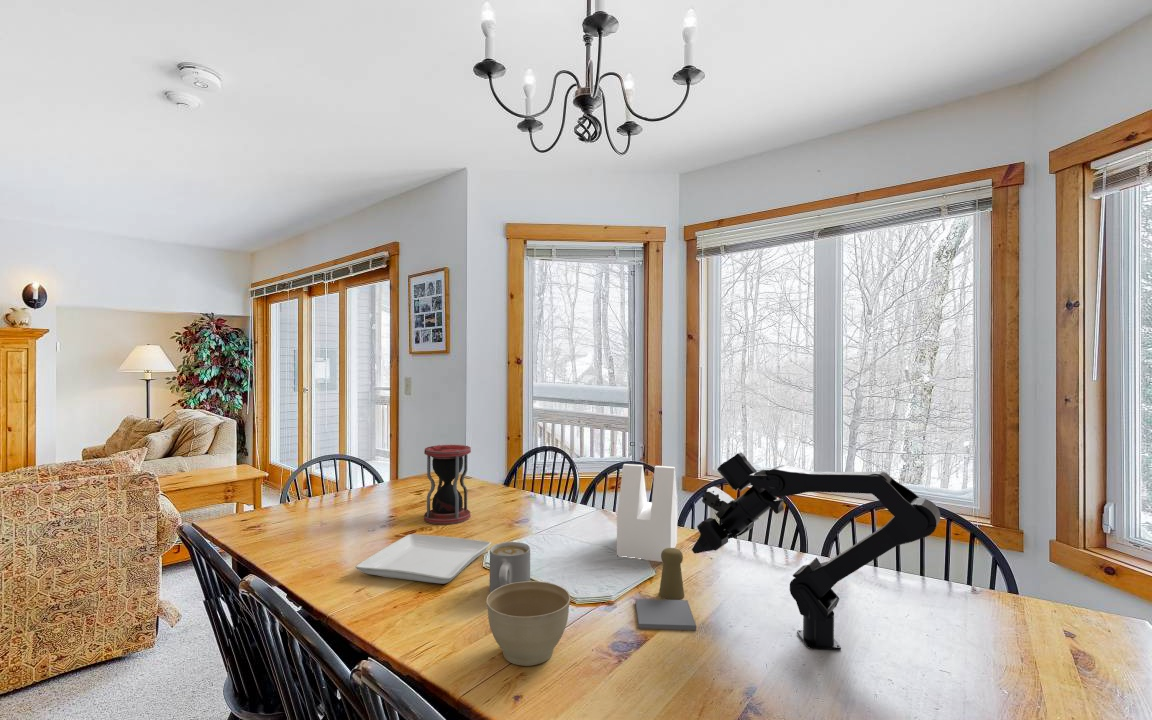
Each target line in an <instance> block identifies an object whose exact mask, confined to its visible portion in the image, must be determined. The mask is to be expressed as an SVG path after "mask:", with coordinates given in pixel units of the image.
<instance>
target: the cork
mask: <svg viewBox="0 0 1152 720" xmlns="http://www.w3.org/2000/svg"><path fill="white" fill-rule="evenodd" d="M683 558H684V556H683V552H682V551H681V550H680V549H679V548H676V547H675V548H666V549H664V550H663V551H662V553H661V559H662V561H663V562H662V569H661V570H662V571H661V576H660V578H661V579H660V584H659V592H658V595H659V597H660V598H662V599H666V600H684V598H685V592H684V591H685V590H684V582H683V573H682V566H681V564H682V563H683V560H684V559H683Z"/></svg>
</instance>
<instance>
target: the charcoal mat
mask: <svg viewBox="0 0 1152 720" xmlns="http://www.w3.org/2000/svg"><path fill="white" fill-rule="evenodd" d="M635 608H636V609H635V611H636V617H637V624H638V625H637V626H638V629H647V630H674V631H675V630H676V631H697V623H696V620H695V618H694V615H693V613H692V610H691V607H690V603H689V601H688V599H680V600H667V599H664V598H662V599H661V598H657V599H655V598H654V599H653V598H635Z"/></svg>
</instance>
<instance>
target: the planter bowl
mask: <svg viewBox="0 0 1152 720" xmlns="http://www.w3.org/2000/svg"><path fill="white" fill-rule="evenodd" d="M485 604H486V607H487V619H488V623H489V628H490V631H491V633H492V635H493V636H492V637H493V638H494V640H495V642H496V644H497V645H498V646H499V648H500V649H501V650H502V654H503V657H504V659H505V660H506V661H508V662H509V663H511V664H513V665H517V666H524V667H529V666H537V665H540V664H543V663H545V662H547V661H548V660H549V659H550V658H551V657H552V656H553V653H554V650H555V648H556V646H557V645H558V643H559V642H560V640H561V638H562V637H563V634H564V633H565V630H566V627H567V623H568V618H569V613H570V612H569V611H570V604H571V594H570V593H569V591H567V589H566V588H564V587H562V586H560V585H559V584H556V583H550V582H546V581H536V580H533V581H531V580H530V581H525V582H516V583H511V584H507V585H504V586H501V587H499V588H497V589H495V590H494V591H492V592H491V593H490V592H489V594H488V595H487V597H486V603H485Z"/></svg>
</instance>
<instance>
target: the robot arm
mask: <svg viewBox="0 0 1152 720" xmlns="http://www.w3.org/2000/svg"><path fill="white" fill-rule="evenodd" d="M717 472H718V473H719V474H720V475H721V476H722V478H723V479H724V480H725V481H726V483H727V484H728V485H729V486H730V488H731V489H732V490H733V491H735V492H736V491H737V490H739V491H740V492H742V491H743V492H744V490H746V489H747V488H748V487H750V486H751V487H750V488H748V489H747V490H746V491H745V492H744V493H742V495H740V496H739V497H737V498H736V499H734V498H733V497H732V496H731V495H730V494H728V493H727V492H725V491H723V490H722V489H720V488H718V487H717V486H711V487H709V488H707V489H706V491H705V492H704V493H702V495H701V497H702V499H701V501H702V503H703V504H704V505H705V506H708V507H709V508H710V509H711V508H712V509H713V510H714V511H716V513H715V516H716V517H717V518H718V519H720V523H721V524H720V523H719V522H718V520H717V519H716V518H713V517H708V518H706V519H704V520H702V521H701V522H700V523H698V524H697V526H696V527H697V528H696V529H697V530H698V532H699V537H698V538H697V540H696V542H695V543H694V545H693V547H692V548H691V551H692V552H693V554H700V553H704V552H706V553H707V552H711V551H718V550H719V549H722V547H724V546H726V544H727V543H729V539H732V538H733V539H734V538H736V537H740V536H742V535H743V534H746V533H747V532H748V531H749V530H751V529H752V528H753V527H754V526H755V525H754V523H755V522H756V521H758V520H760V517H761V516H763V515H764V514H765V513H767V512H768V511H769V510H770V509H771V510H772V512H774V513H775V514H780V513H782V512H783V511H784V501H785V500H784V499H783V497H788V496H789V497H790V496H795V495H800V494H805V493H811V492H812V493H835V494H836V493H838V494H841V493H842V494H844V493H845V494H869V495H870V494H871V495H872V496H874V497H875V498H876V499H878V500H879V502H880V503H881V504H882V505H883V506H884V507H885V509H886V510H887V511H888V512H889V513H890V514H891V515H893V516H892V517H891V519H889V520H888V522H887V523H885V524H884V525H883V526H881V527H880V528H878V529H877V530H875V531H874V532H872V533H871V534H869V535H868V536H866V537H864V538H863V539H861V540H860V541H858V542H856V543H855V544H853V545H852V546H850V547H848V548H847V549H846V550H844V551H842V552H841V553H839V554H837V555H836V556H835V557H833V558H832V559H830V560H827V561H825V562H821V561H820V560H819V559H818V557H815V558H814V559H813V560H811V561H810V562H809V563H808V564H805V565H802V566H801V567H800V568H798V569H797V570H796V571H795V572H794V573H793V574H792V577H793V578H792V579H791V581H790V583H789V592H790V595H791V597H792V599H793V600H794V601H795V602H796V605H797V608H798V612H799V614H800V615H801V616H802V617H803V618H802V619H803V621H802V624H803V625H802V629H798V630H796V634H797V635H798V636H799V638H800V640H801V641H802V642H803V644H804V645H805V646H806V648H807V649H810V650H811V649H813V650H814V649H815V650H837V651H838V650H839V651H840V650H841V649H842V645H840V644H839V642H838V641H837V640H836V638H835V612H834V610H835V608H837V605H838V604H839V602H840V597H839V596H838V595H837V594H836V592H835V591H834V590H833V589H832V588H833V587H835V585H836V584H837V583H838V582H840V581H841V580H843V579H845V578H846V577H848V576H850V575H851V574H853V573H855V572H856V571H858V570H860V569H861V568H863V567H864V566H866V565H868V564H869V563H871V562H872V561H874V560H875V559H878V558H879V557H881V556H882V555H884V554H885V553H887V552H889V551H890V550H892V549H894V548H896V547H898V546H900V545H905V544H906V545H907V544H910V543H913V542H916V541H918V540H921V539H923V538H924V539H925V538H926V537H928V536H929V537H930V536H931V535H932V534H933V533H935V531H936V529H937V527H938V525H939V523H940V521H941V512H940V509H939V507H938V506H937V505H936V504H935V503H934V502H933V501H931V500H929V499H927V498H924V497H920V496H918V495H917V494H916V493H915V492H913V491H912V490H911V489H909V488H908V487H906V486H905V485H903V484H902V483H900V482H898V481H897V480H895V479H894V478H893V477H891V476H890V475H889V474H888V473H887V472H885V471H883V470H876V471H813V470H807V469H805V468H802V467H797V466H791V465H787V464H786V465H785V464H784V465H783V464H782V465H779V466H776V467H774V468H772V469H760V470H758V471H757V470H756V468H754V466H753V465H752V464H751V462H749V460H748V459H747V458H746V456H745V454H744V453H743V452H738V453H736V454H735V455H734V456H732V457H731V458H729V459H728V460H727V461H724V462H722V464H720V465H719V467H718V468H717Z"/></svg>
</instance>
